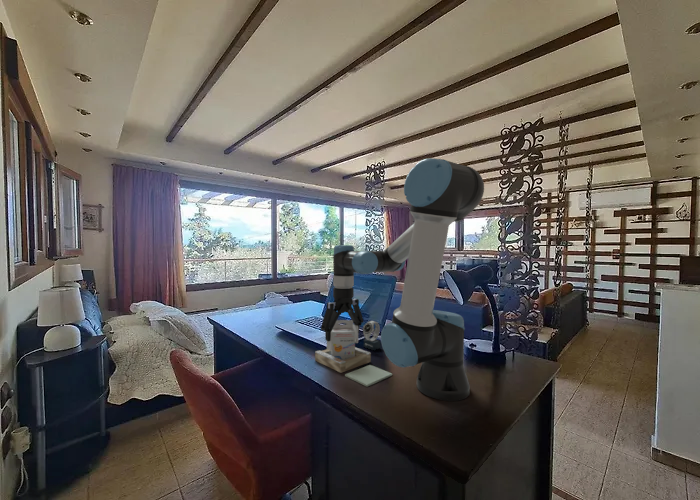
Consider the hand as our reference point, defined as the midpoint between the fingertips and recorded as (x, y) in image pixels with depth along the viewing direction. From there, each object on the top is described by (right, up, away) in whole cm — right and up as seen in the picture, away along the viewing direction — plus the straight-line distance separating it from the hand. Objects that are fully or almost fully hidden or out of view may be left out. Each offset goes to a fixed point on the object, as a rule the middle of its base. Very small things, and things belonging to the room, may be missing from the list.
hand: (342, 345), depth 111 cm
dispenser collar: (0, -6, 0) cm, 6 cm away
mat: (+9, -6, -12) cm, 16 cm away
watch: (+12, -6, +15) cm, 20 cm away
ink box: (0, -6, 0) cm, 6 cm away
